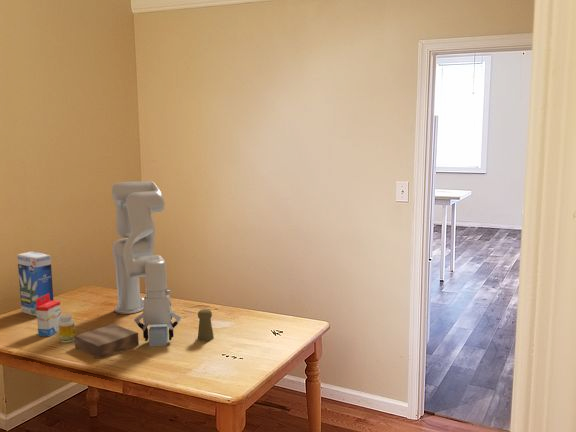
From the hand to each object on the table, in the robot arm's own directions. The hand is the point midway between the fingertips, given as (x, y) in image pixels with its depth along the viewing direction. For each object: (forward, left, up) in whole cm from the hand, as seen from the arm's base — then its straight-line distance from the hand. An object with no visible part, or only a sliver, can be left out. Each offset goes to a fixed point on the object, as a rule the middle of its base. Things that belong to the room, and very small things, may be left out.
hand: (158, 339), depth 210 cm
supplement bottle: (+20, -29, -2) cm, 35 cm away
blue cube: (0, 0, -1) cm, 1 cm away
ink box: (+20, -42, -2) cm, 47 cm away
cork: (-14, +10, -2) cm, 17 cm away
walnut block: (+14, -12, -2) cm, 19 cm away
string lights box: (+11, -70, -2) cm, 71 cm away
